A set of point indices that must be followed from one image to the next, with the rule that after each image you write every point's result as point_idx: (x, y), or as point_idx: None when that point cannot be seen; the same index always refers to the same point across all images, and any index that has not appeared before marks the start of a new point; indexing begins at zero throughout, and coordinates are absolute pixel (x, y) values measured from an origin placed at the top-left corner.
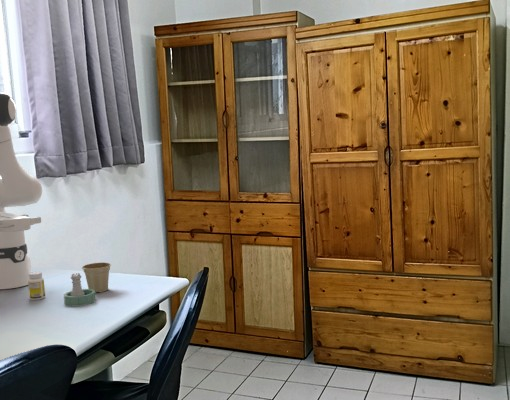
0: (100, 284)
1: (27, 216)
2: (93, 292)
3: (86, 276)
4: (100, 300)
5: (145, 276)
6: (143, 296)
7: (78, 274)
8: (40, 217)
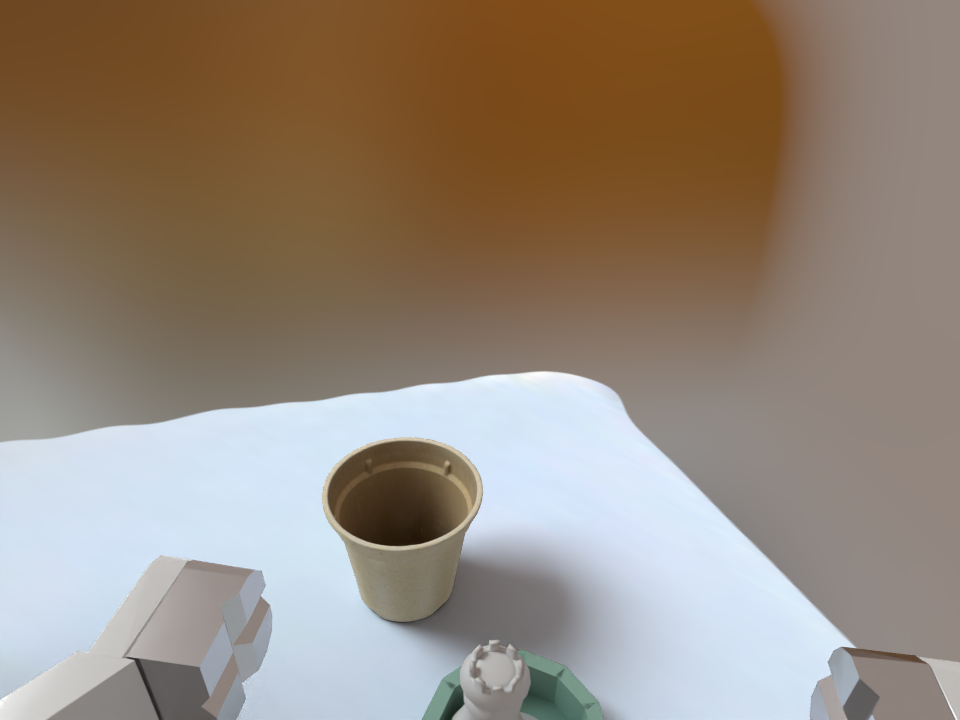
0: (455, 570)
1: (255, 597)
2: (578, 684)
3: (387, 572)
4: (586, 685)
5: (409, 394)
6: (685, 549)
7: (495, 649)
8: (953, 663)
